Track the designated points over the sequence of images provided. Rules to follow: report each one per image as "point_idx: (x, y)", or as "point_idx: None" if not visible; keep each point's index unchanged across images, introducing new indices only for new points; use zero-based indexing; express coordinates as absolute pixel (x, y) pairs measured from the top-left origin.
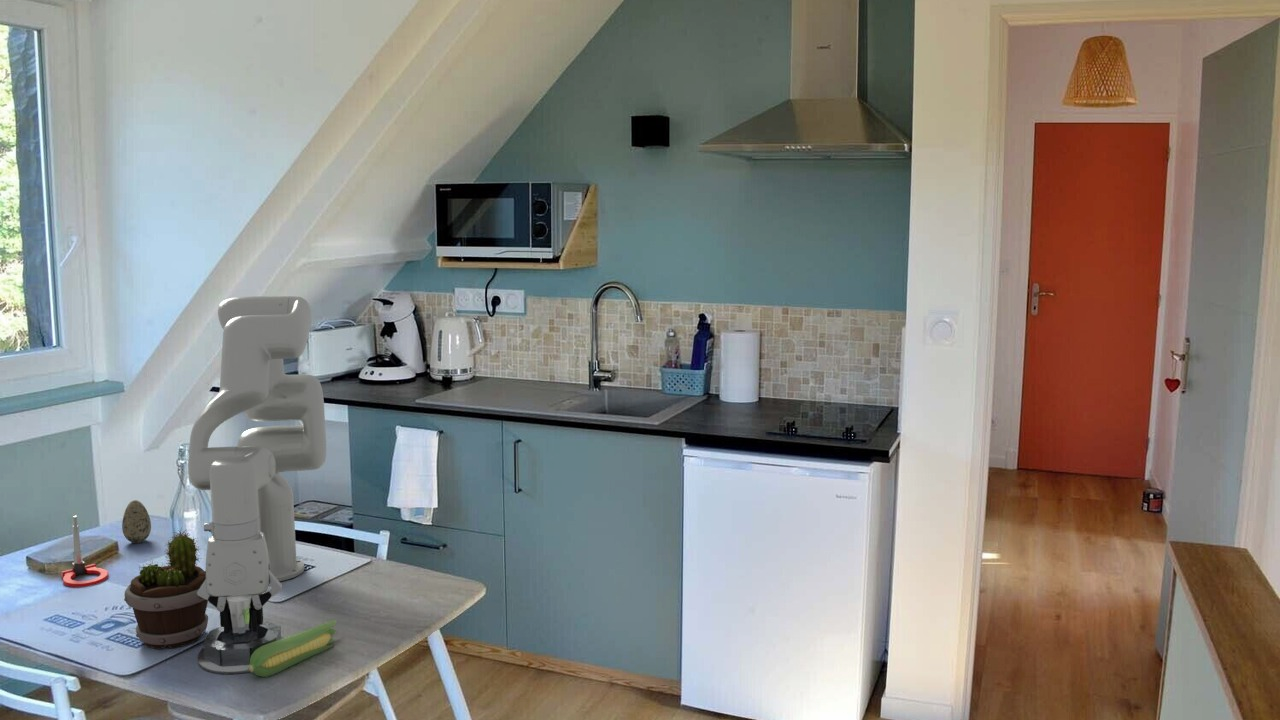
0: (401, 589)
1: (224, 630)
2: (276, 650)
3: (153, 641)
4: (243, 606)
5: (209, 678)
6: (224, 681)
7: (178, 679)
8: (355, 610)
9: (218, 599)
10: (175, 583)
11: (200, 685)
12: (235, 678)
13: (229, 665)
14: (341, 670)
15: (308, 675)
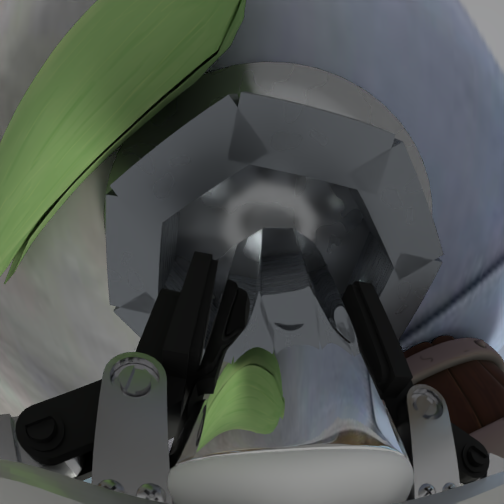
0: (3, 398)
1: (373, 289)
2: (93, 15)
3: (490, 346)
4: (265, 391)
5: (404, 80)
6: (352, 26)
7: (484, 129)
8: (31, 373)
9: (456, 461)
10: None
11: (431, 40)
12: (309, 32)
13: (336, 112)
14: None
15: (48, 8)
